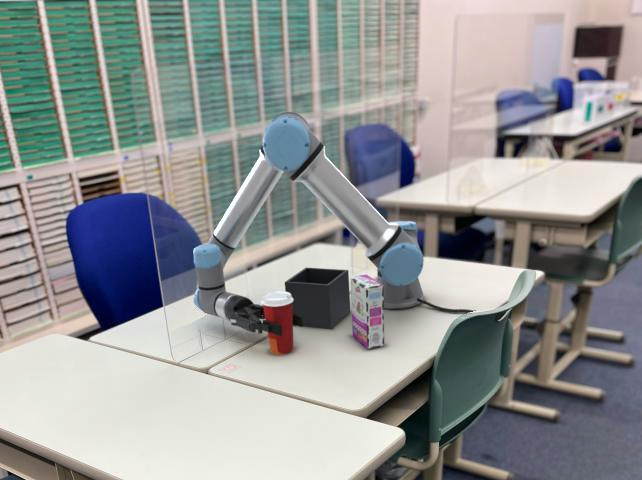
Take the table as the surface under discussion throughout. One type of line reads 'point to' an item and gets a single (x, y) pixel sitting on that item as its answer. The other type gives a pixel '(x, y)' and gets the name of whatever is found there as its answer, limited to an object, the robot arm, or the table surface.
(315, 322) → the trash bin
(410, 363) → the table surface
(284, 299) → the coffee cup
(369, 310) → the candy bar box
